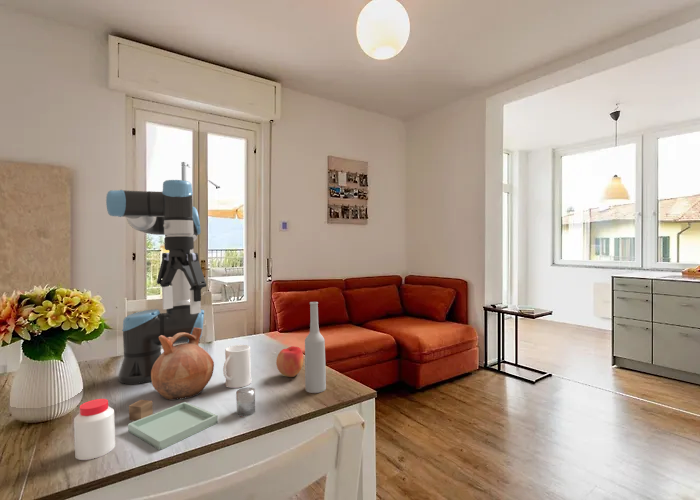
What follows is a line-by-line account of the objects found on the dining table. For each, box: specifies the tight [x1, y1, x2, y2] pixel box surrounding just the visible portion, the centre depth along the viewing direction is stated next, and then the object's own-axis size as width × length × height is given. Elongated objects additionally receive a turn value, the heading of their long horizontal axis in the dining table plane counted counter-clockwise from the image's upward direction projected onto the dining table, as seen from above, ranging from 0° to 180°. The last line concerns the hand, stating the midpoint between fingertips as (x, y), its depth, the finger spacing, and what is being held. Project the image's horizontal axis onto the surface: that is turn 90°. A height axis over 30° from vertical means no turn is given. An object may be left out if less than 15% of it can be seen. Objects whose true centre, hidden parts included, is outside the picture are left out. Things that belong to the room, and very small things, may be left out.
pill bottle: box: [73, 398, 116, 461], centre depth 86 cm, size 8×8×11 cm
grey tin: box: [235, 386, 256, 417], centre depth 104 cm, size 5×5×6 cm
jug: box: [151, 327, 215, 401], centre depth 118 cm, size 18×18×20 cm
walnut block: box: [128, 399, 154, 422], centre depth 102 cm, size 4×4×4 cm
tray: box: [127, 401, 219, 451], centre depth 96 cm, size 15×15×2 cm
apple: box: [275, 346, 305, 378], centre depth 131 cm, size 10×10×10 cm
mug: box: [222, 344, 253, 389], centre depth 124 cm, size 12×8×12 cm
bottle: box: [304, 301, 327, 394], centre depth 119 cm, size 7×7×28 cm
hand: (181, 311), depth 105 cm, fingers open, 13 cm apart
